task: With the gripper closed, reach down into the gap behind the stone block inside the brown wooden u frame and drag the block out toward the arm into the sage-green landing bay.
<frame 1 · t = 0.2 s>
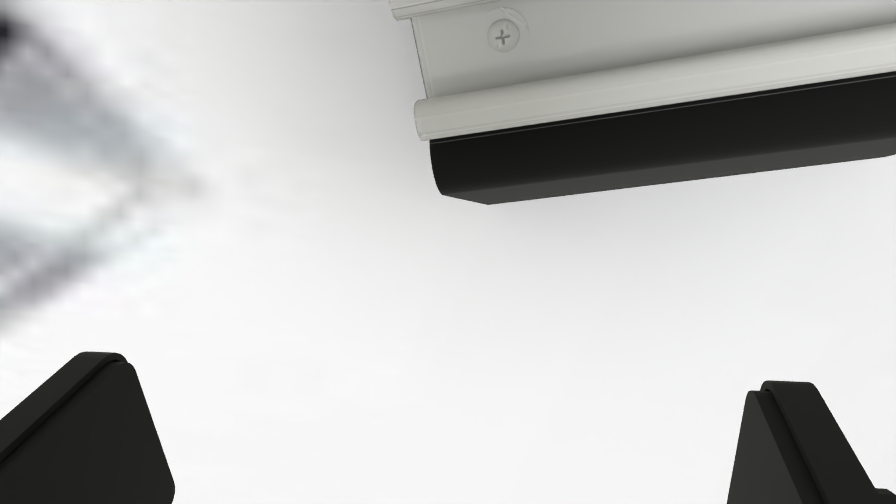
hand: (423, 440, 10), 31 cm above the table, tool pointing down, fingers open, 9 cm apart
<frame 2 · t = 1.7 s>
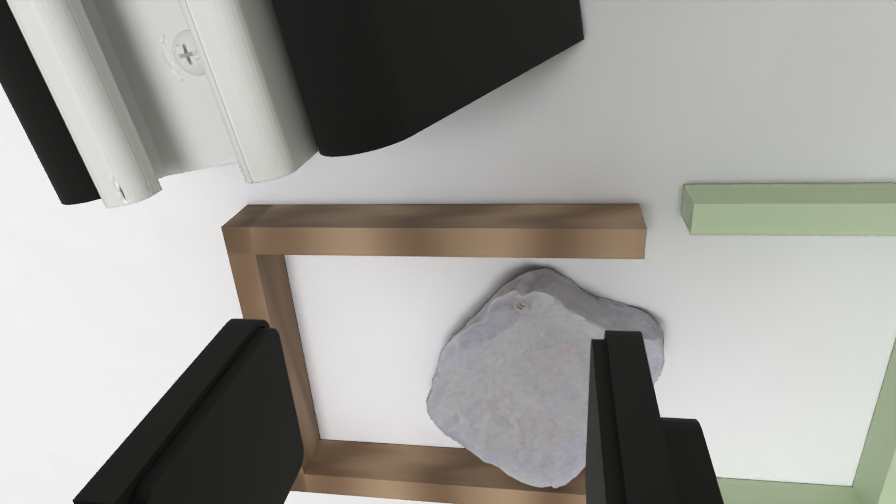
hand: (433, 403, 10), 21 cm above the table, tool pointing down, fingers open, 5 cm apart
brown wooden u frame: (448, 349, 36), on the table
landing bay: (788, 362, 33), on the table
stone block: (532, 353, 36), on the table
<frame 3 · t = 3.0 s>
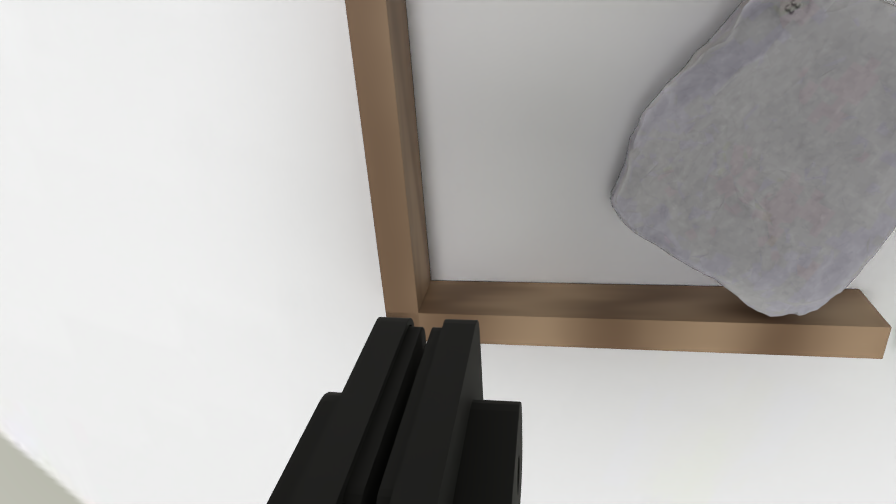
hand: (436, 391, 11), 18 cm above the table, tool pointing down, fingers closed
brown wooden u frame: (631, 124, 26), on the table
stone block: (760, 130, 25), on the table
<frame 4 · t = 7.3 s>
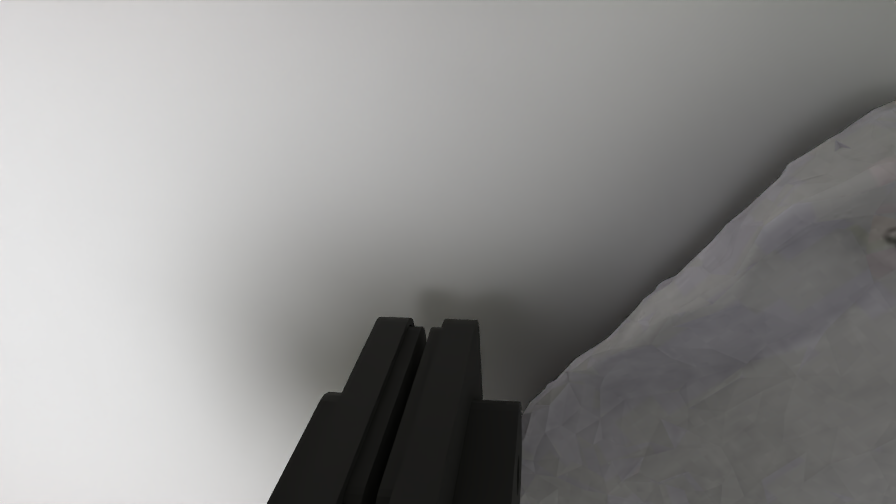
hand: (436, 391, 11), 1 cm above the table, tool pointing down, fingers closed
stone block: (792, 407, 12), on the table, touching gripper, landing bay
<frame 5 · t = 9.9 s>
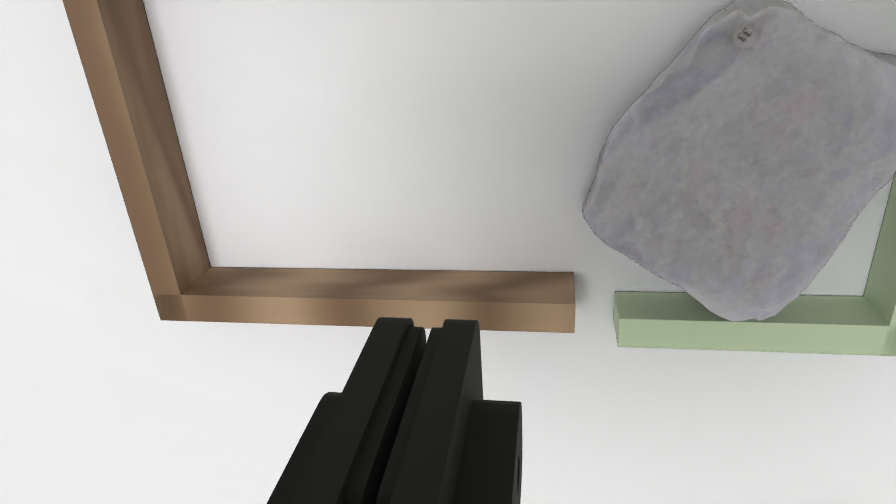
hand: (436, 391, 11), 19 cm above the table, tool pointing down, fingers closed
brown wooden u frame: (354, 124, 29), on the table
landing bay: (783, 113, 26), on the table
stone block: (721, 146, 27), on the table
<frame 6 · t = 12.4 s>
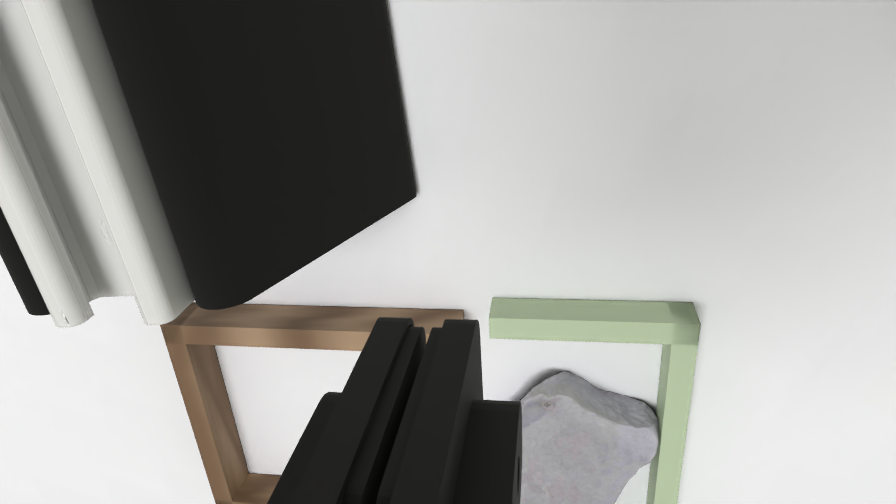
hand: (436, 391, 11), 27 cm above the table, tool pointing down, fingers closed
brown wooden u frame: (339, 408, 47), on the table
landing bay: (584, 421, 44), on the table
stone block: (556, 431, 46), on the table
device stand: (204, 21, 36), on the table
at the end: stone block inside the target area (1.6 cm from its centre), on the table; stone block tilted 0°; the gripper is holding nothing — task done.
